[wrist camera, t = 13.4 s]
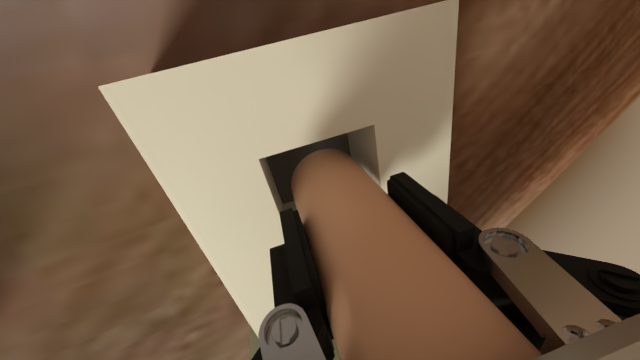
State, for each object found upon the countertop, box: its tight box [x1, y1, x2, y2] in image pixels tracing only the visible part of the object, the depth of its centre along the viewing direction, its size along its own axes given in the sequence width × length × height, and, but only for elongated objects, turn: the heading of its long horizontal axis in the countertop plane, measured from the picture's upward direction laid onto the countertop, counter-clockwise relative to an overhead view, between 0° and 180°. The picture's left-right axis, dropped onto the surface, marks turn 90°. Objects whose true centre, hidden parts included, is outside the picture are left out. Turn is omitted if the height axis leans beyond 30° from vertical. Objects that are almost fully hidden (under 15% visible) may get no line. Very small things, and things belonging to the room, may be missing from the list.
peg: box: [291, 149, 542, 360], centre depth 9 cm, size 4×4×12 cm
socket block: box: [98, 0, 459, 338], centre depth 16 cm, size 19×14×5 cm
